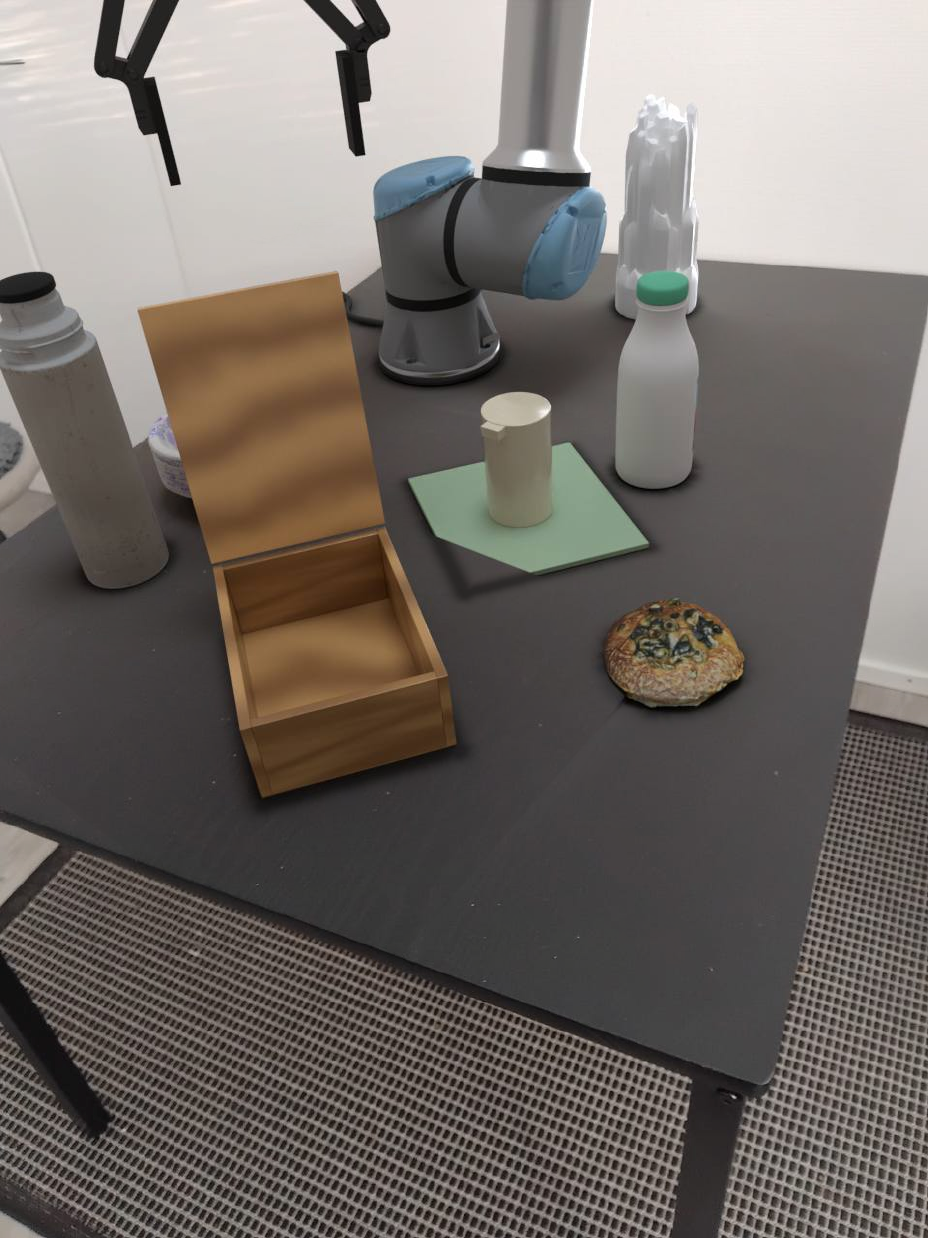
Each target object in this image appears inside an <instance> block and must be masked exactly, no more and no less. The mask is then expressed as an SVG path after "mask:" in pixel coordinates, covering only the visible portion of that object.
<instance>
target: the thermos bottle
mask: <svg viewBox="0 0 928 1238" xmlns="http://www.w3.org/2000/svg"><path fill="white" fill-rule="evenodd" d="M56 287H57V282H56V280H55V277H54V276H53V274H52V273H50V272H46V271H26V272H21V273H17V274H13V275H10V276H7V277H4V278H1V279H0V319H1V321H0V350H1V351H0V372H1V374H2V378H3V380H4V382H5V384H6V387H7V389H8V391H9V393H10V396H11V398H12V401H13V404H14V405H15V409H16V410H17V413H18V415H19V418H20V420H21V423H22V425H23V428H24V430H25V432H26V434H27V437H28V439H29V442H30V444H31V447H32V450H33V452H34V454H35V457H36V458H37V461H38V463H39V466H40V468H41V470H42V473H43V475H44V478H45V480H46V482H47V485H48V488H49V490H50V492H51V495H52V497H53V499H54V501H55V504H56V507H57V509H58V511H59V514H60V516H61V519H62V521H63V524H64V527H65V528H66V531H67V533H68V535H69V539H70V540H71V543H72V546H73V547H74V550H75V552H76V554H77V557H78V560H79V562H80V564H81V566H82V569H83V571H84V572H83V573H84V574H85V576H86V578H87V580H88V581H89V582H90V583H91V584H93V585H94V586H96V587H98V588H102V589H110V590H115V589H116V590H117V589H125V588H130V587H133V586H137V585H139V584H142V583H144V582H147V581H148V580H150V579H152V578H153V577H155V576H156V575H157V574H159V573H160V572H161V571H162V570H164V568H165V567H166V565H167V563H168V561H169V557H170V552H169V548H168V546H167V542H166V539H165V536H164V533H163V531H162V530H163V529H162V527H161V525H160V522H159V519H158V517H157V513H156V511H155V508H154V504H153V501H152V498H151V495H150V493H149V489H148V486H147V484H146V481H145V478H144V475H143V472H142V469H141V467H140V464H139V462H138V458H137V456H136V453H135V450H134V447H133V444H132V440H131V437H130V434H129V430H128V428H127V426H126V422H125V419H124V416H123V413H122V410H121V408H120V405H119V401H118V398H117V396H116V393H115V390H114V387H113V383H112V381H111V378H110V375H109V371H108V369H107V366H106V364H105V361H104V358H103V355H102V352H101V349H100V346H99V343H98V340H97V337H96V336H95V334H94V333H92V332H91V331H89V330H88V329H84V326H83V325H84V320H83V319H82V318H81V317H80V315H79V312H78V311H77V310H76V309H74V308H72V307H70V306H67V305H64V302H63V299H62V296H61V294H60V292H59V290H57V288H56Z"/></svg>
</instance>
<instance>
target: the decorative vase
mask: <svg viewBox="0 0 928 1238" xmlns="http://www.w3.org/2000/svg"><path fill="white" fill-rule="evenodd" d="M698 122H699V121H698V109H697V106H696V104H694V103H693V102H691V103H690V104H688V105H686V106H685V112H684V117H683V116H681V114H680V109H679V108H678V106H676V105H674V104H672V103H669V104H668V110H667V104H666V98H665V97H664V96H661V97H660V98H659V99H656V94H652V93H649V94H648V95H647V96H646V97H645V98H644V102H643V107H641V108H640V109H639V110H638V114H637V117H636V122H635V125H634V128H633V129H632V130H631V131H630V132H629V134H628V141H627V146H626V150H625V167H624V168H625V170H624V171H625V172H624V210H623V211H624V212H623V215H622V217H621V219H619V220H620V221H619V222H618V223H619V224H618V247H617V248H618V249H617V268H616V272H615V295H614V296H615V298H614V300H615V301H614V307H615V310H616V312H617V313H619V315H621V316H624V318H627V319H631V320H636V318H637V315H638V310H639V306H638V305H637V303H636V300H637V282H638V279H639V278H640V277H641V276H642V275H644V274H647V273H650V272H655V271H674V272H678V273H681V274H683V275H685V276H686V277H687V278H688V281H689V290H688V296H687V299H688V302H687V304H686V305H685V307H684V311H685V316H686V315H689V314H690V313H691V314H692V313H693V312H694V310H695V309H696V307H697V301H698V287H699V267H698V262H697V250H698V249H697V248H698V235H699V216H698V215H699V214H698V210H697V206H696V200H695V198H694V184H695V183H694V182H695V168H696V154H697V153H696V152H697V140H698V125H699V124H698Z"/></svg>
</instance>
